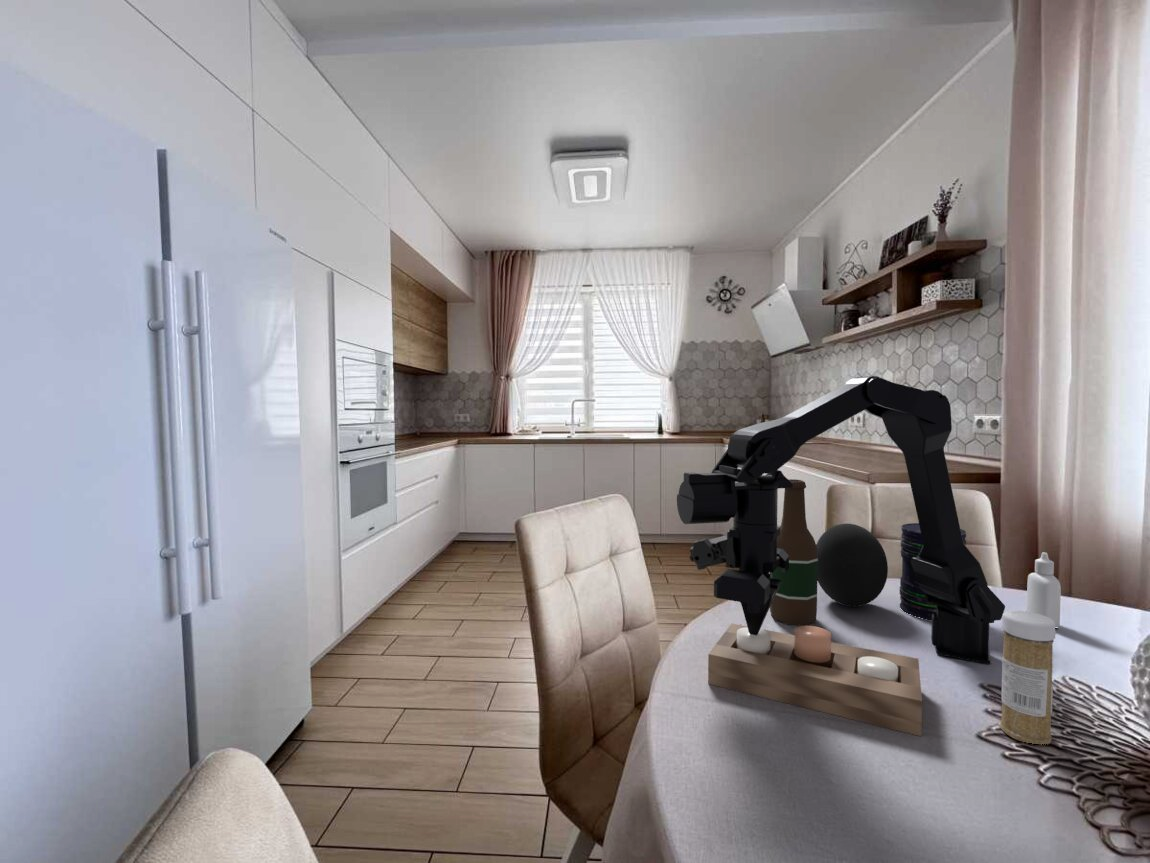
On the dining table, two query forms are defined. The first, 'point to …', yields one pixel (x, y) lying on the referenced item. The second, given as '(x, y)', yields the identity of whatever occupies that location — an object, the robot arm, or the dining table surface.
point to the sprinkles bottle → (1027, 676)
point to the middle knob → (812, 643)
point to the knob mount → (821, 680)
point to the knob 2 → (878, 668)
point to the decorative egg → (851, 565)
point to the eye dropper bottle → (1044, 590)
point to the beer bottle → (796, 563)
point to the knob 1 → (753, 641)
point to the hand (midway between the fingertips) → (753, 633)
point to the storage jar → (909, 589)
